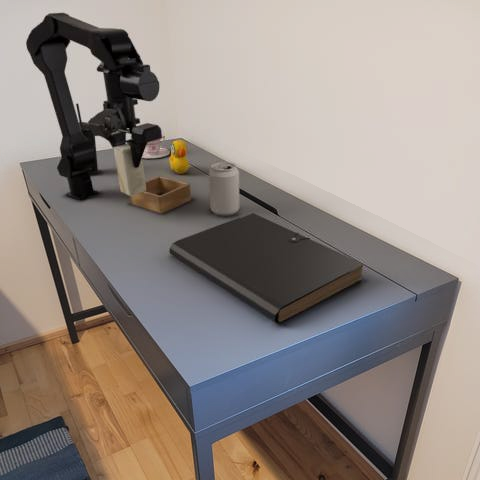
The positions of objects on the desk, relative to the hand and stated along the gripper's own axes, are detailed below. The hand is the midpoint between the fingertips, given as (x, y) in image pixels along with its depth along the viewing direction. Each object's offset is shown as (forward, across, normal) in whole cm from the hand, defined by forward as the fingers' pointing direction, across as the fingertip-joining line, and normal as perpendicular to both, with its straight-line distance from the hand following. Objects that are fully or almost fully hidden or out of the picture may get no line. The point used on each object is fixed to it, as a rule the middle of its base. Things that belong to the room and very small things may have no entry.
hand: (129, 165), depth 116 cm
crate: (+13, -1, +10) cm, 16 cm away
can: (+13, +17, +15) cm, 26 cm away
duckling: (+13, -12, +31) cm, 36 cm away
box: (+7, 0, 0) cm, 7 cm away
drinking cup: (+13, -36, +15) cm, 41 cm away
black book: (+13, +42, -5) cm, 44 cm away
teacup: (+13, -33, +40) cm, 54 cm away
